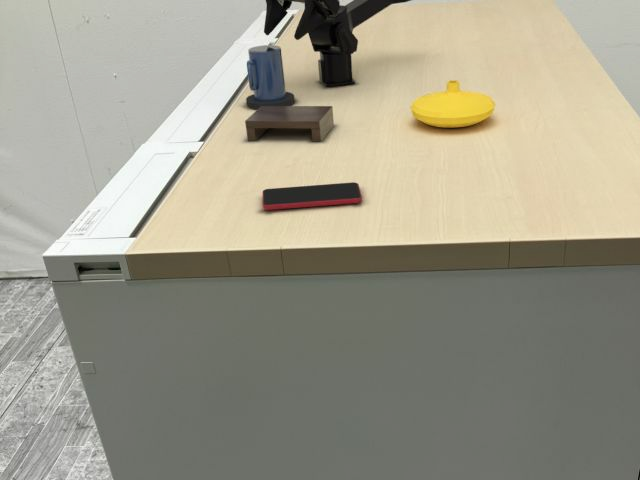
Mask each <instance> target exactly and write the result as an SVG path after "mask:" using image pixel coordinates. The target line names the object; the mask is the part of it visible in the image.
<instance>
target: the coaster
mask: <svg viewBox="0 0 640 480" xmlns="http://www.w3.org/2000/svg"><path fill="white" fill-rule="evenodd" d="M245 102H246V106H247V108H249V109H250V110H251V109H252V110H255V111H256V110H258V109H259V108H260V107H261V106H293V105H294V104H295V102H296V99H295V94H294V93H293V92H289V91H286V97H285V98H283V99H280V100H276V101H258V100H255V98H254V93H253V94H251V95H248V96H247V97H246V99H245Z"/></svg>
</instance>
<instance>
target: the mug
mask: <svg viewBox="0 0 640 480" xmlns="http://www.w3.org/2000/svg"><path fill="white" fill-rule="evenodd" d="M247 52H248V59H249V60H247V61H246V70H247V79H248V85H249V86H248V87H249V89H250V91H252V92H253V94H254V98H255V100H258V101H276V100H280V99H283V98H285V97H286V92H287V91H286V82H285V81H286V80H285V73H284V72H285V71H284V62H283V54H282V47H281V46H280V45H276V44H273V45H272V44H266V45H265V44H263V45H257V46H253V47H250V48H248V50H247Z"/></svg>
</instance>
